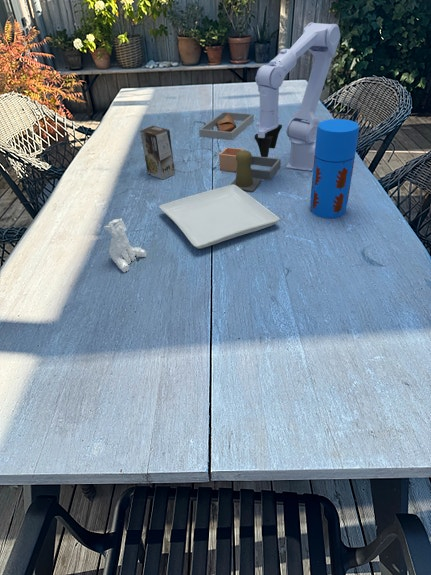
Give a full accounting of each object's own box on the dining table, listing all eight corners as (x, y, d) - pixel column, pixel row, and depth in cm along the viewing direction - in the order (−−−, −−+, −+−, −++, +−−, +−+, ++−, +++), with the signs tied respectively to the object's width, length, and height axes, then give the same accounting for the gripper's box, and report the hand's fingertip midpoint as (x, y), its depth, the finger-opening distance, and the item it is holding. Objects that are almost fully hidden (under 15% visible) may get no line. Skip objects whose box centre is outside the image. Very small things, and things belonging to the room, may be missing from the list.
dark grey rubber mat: (262, 181, 142) (262, 179, 142) (252, 192, 136) (252, 190, 135) (238, 177, 145) (238, 176, 145) (228, 188, 139) (228, 187, 139)
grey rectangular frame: (280, 166, 150) (280, 158, 148) (270, 179, 142) (270, 171, 140) (250, 163, 154) (250, 155, 152) (239, 175, 146) (239, 167, 144)
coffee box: (176, 174, 151) (170, 129, 141) (162, 180, 147) (156, 135, 137) (159, 168, 156) (153, 124, 146) (146, 174, 152) (139, 130, 142)
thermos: (347, 203, 126) (361, 119, 111) (344, 220, 119) (358, 133, 103) (312, 199, 130) (320, 117, 114) (306, 216, 122) (314, 131, 106)
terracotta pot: (244, 164, 153) (244, 149, 150) (237, 172, 149) (236, 156, 145) (227, 162, 156) (226, 147, 152) (219, 170, 151) (218, 154, 147)
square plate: (196, 258, 109) (195, 246, 107) (159, 215, 128) (157, 204, 126) (281, 229, 118) (281, 217, 116) (234, 192, 137) (233, 182, 135)
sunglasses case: (214, 122, 193) (220, 109, 189) (227, 129, 195) (233, 115, 192) (218, 134, 179) (225, 120, 175) (232, 141, 181) (239, 127, 178)
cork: (251, 187, 137) (250, 155, 130) (233, 186, 139) (232, 154, 132) (254, 179, 142) (254, 148, 135) (237, 178, 143) (236, 147, 136)
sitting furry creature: (125, 274, 105) (115, 234, 97) (101, 265, 109) (89, 226, 101) (148, 255, 111) (140, 216, 103) (124, 247, 115) (115, 209, 107)
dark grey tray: (253, 120, 192) (253, 114, 190) (232, 139, 174) (231, 132, 172) (223, 118, 197) (222, 111, 195) (199, 136, 180) (198, 129, 178)
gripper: (264, 101, 133) (263, 143, 141) (248, 115, 123) (248, 159, 131) (285, 102, 130) (283, 145, 139) (270, 117, 120) (269, 161, 129)
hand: (268, 152), depth 135 cm, fingers open, 7 cm apart
